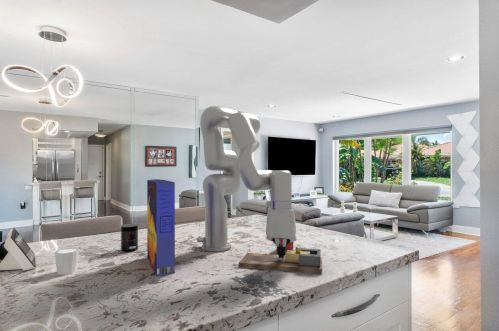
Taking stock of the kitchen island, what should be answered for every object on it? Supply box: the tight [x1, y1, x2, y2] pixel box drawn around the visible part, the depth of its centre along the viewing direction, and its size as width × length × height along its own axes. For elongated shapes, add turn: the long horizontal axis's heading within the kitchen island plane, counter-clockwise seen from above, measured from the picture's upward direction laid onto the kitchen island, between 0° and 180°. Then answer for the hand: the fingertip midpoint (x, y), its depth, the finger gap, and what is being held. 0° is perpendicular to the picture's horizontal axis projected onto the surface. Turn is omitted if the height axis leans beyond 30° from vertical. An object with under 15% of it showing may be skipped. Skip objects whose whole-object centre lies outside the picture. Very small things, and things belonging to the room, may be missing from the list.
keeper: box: [299, 247, 322, 267], centre depth 102 cm, size 7×9×4 cm
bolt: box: [286, 246, 310, 263], centre depth 103 cm, size 8×4×5 cm, turn 76°
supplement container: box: [120, 223, 139, 253], centre depth 123 cm, size 7×7×10 cm
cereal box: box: [146, 178, 176, 277], centre depth 105 cm, size 22×6×30 cm, turn 26°
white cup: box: [54, 247, 80, 276], centre depth 98 cm, size 7×7×7 cm
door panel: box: [238, 252, 323, 275], centre depth 105 cm, size 28×12×2 cm, turn 76°
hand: (281, 257), depth 105 cm, fingers closed
